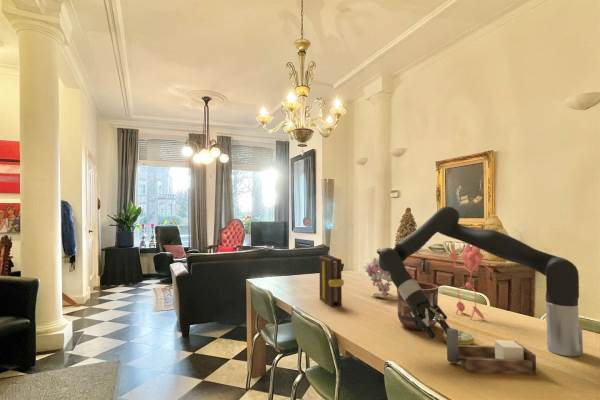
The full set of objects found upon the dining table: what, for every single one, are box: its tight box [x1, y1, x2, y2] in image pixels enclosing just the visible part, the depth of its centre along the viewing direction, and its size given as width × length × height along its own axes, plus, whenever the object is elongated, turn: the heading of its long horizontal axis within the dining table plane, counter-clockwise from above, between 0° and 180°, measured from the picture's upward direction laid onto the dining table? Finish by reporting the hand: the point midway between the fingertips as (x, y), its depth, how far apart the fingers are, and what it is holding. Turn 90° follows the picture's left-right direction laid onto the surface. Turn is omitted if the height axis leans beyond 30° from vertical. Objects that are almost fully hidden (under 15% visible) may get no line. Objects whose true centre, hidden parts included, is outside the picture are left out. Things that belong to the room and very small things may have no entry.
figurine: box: [449, 243, 493, 324], centre depth 167 cm, size 15×26×35 cm, turn 19°
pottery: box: [396, 281, 440, 332], centre depth 151 cm, size 18×18×18 cm
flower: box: [362, 257, 393, 299], centre depth 208 cm, size 20×22×25 cm
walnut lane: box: [459, 340, 537, 376], centre depth 112 cm, size 20×12×6 cm, turn 84°
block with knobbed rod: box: [446, 327, 524, 364], centre depth 112 cm, size 22×6×10 cm, turn 84°
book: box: [318, 255, 345, 308], centre depth 193 cm, size 22×8×25 cm, turn 17°
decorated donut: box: [442, 330, 475, 346], centre depth 132 cm, size 10×11×4 cm
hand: (442, 335), depth 116 cm, fingers open, 8 cm apart
